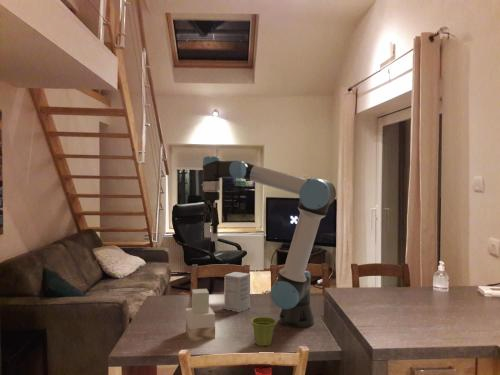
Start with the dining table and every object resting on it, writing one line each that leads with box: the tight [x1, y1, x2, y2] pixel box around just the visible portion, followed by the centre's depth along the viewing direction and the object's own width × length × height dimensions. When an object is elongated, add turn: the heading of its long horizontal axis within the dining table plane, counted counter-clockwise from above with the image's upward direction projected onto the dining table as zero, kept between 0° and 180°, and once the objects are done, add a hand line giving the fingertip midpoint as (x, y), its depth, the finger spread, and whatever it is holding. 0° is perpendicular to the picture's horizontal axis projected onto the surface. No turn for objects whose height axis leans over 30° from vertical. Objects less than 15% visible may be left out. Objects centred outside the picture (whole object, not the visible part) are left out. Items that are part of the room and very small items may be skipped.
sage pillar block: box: [191, 288, 210, 314], centre depth 161 cm, size 6×6×8 cm
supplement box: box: [224, 271, 251, 313], centre depth 196 cm, size 10×9×17 cm
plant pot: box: [251, 316, 277, 347], centre depth 154 cm, size 9×9×9 cm
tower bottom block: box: [185, 322, 216, 342], centre depth 161 cm, size 10×10×5 cm
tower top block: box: [185, 306, 216, 329], centre depth 161 cm, size 10×10×5 cm
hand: (210, 239), depth 180 cm, fingers open, 13 cm apart
